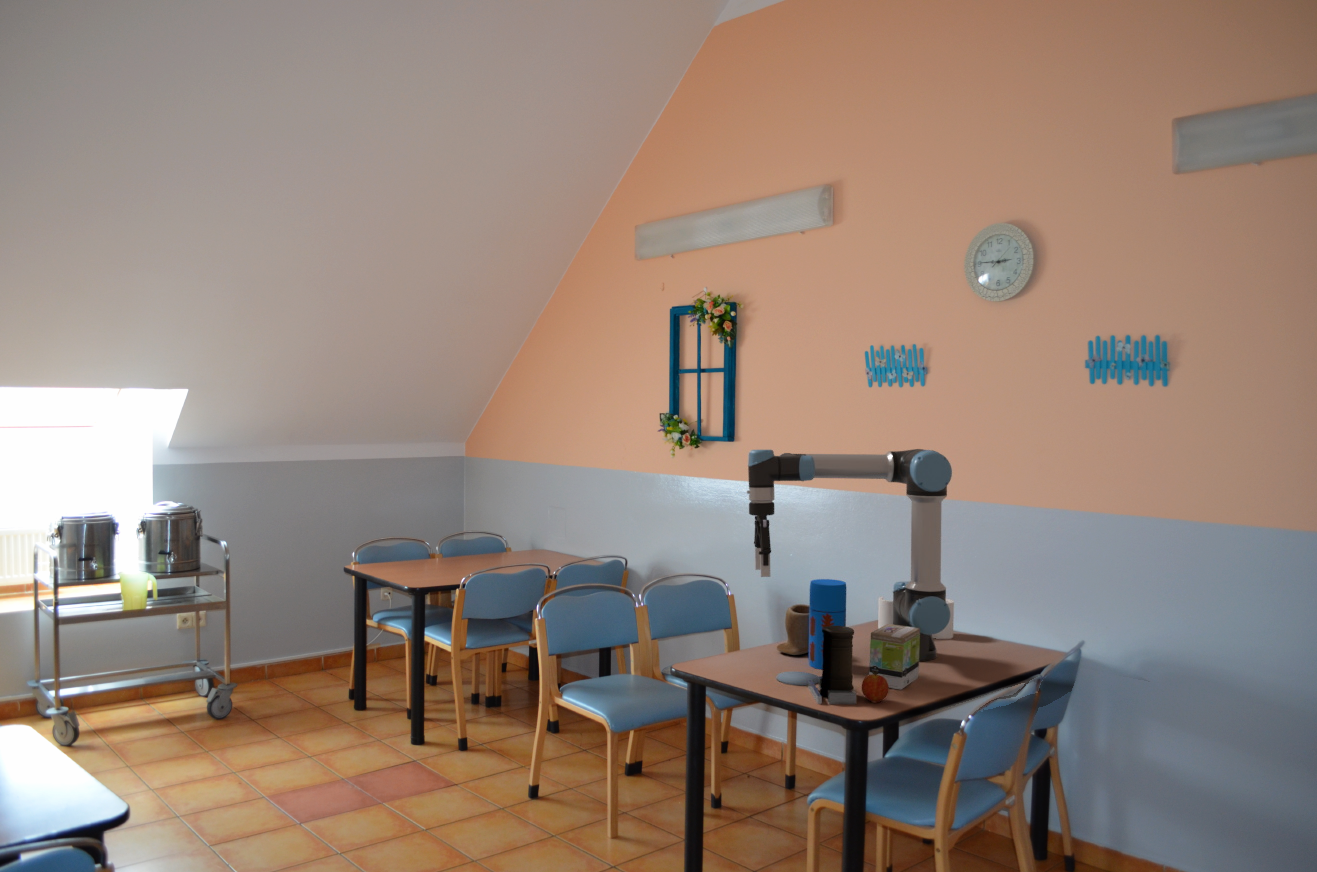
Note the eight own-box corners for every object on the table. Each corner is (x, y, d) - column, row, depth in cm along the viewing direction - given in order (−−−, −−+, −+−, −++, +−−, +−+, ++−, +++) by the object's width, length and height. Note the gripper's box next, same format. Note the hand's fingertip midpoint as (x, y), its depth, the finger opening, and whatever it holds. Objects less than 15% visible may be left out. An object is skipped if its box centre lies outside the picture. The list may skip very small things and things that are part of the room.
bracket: (880, 637, 321) (880, 601, 320) (876, 630, 330) (876, 595, 330) (956, 639, 318) (956, 603, 318) (949, 632, 328) (950, 598, 328)
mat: (815, 673, 275) (815, 671, 275) (823, 685, 263) (823, 683, 263) (774, 673, 274) (774, 671, 274) (779, 685, 262) (779, 683, 262)
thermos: (844, 671, 277) (846, 586, 277) (807, 668, 279) (809, 584, 279) (845, 661, 288) (846, 579, 287) (809, 659, 290) (810, 578, 289)
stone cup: (798, 660, 289) (799, 611, 289) (771, 652, 299) (771, 604, 298) (832, 652, 299) (833, 605, 298) (804, 645, 308) (805, 599, 308)
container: (854, 692, 257) (855, 625, 257) (853, 701, 248) (854, 633, 248) (820, 689, 259) (821, 623, 259) (818, 699, 250) (819, 631, 250)
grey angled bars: (844, 687, 261) (844, 676, 261) (856, 704, 246) (856, 692, 246) (807, 687, 261) (808, 676, 261) (817, 703, 246) (817, 692, 246)
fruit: (855, 699, 250) (856, 669, 250) (875, 695, 254) (875, 665, 254) (874, 706, 244) (874, 675, 244) (894, 702, 248) (894, 672, 248)
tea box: (903, 690, 259) (904, 636, 258) (867, 684, 264) (868, 632, 264) (919, 678, 272) (920, 626, 271) (885, 672, 277) (886, 622, 277)
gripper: (744, 498, 294) (745, 566, 294) (753, 505, 269) (754, 580, 269) (768, 498, 294) (769, 566, 294) (780, 504, 269) (781, 579, 269)
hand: (762, 573), depth 282 cm, fingers open, 13 cm apart
